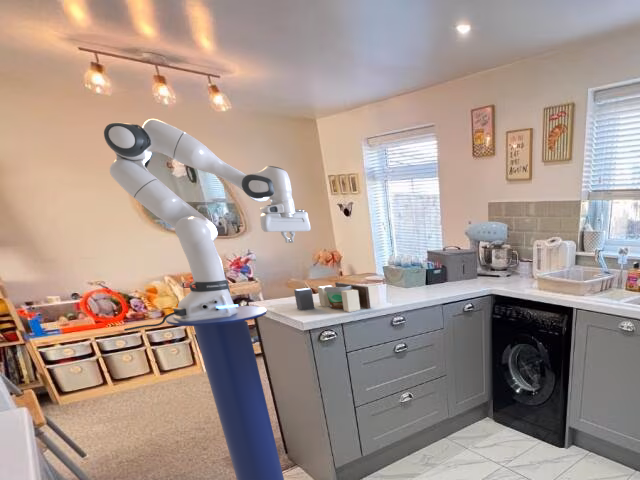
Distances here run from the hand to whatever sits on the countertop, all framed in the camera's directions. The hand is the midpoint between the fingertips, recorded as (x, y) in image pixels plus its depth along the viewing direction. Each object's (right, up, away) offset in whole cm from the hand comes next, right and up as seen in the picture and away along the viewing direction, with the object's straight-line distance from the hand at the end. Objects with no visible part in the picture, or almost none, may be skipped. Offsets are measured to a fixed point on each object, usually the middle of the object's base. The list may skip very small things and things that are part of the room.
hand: (289, 242), depth 182 cm
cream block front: (+25, -29, +6) cm, 39 cm away
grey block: (+3, -28, +9) cm, 29 cm away
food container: (+18, -27, +11) cm, 35 cm away
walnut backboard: (+22, -25, +17) cm, 37 cm away
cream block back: (+10, -25, +17) cm, 31 cm away
